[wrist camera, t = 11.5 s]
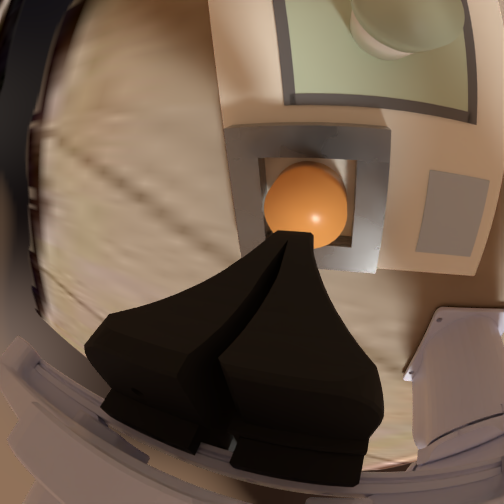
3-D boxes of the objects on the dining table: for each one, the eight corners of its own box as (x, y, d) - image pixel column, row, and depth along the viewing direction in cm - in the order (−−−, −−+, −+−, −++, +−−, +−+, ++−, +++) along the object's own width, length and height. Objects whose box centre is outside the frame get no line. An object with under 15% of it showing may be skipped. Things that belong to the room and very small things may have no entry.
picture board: (472, 272, 14) (474, 277, 14) (243, 253, 19) (240, 257, 18) (493, -5, 4) (497, -6, 4) (208, -23, 9) (204, -26, 9)
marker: (419, 66, 9) (470, 59, 4) (351, 59, 10) (360, 39, 5) (411, 6, 7) (452, -34, 2) (343, -2, 8) (342, -54, 3)
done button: (344, 232, 15) (344, 252, 13) (275, 227, 16) (267, 245, 15) (348, 162, 13) (349, 174, 11) (270, 160, 14) (260, 172, 12)
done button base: (374, 261, 16) (375, 273, 15) (248, 250, 18) (242, 261, 17) (387, 126, 11) (391, 129, 10) (231, 124, 14) (223, 128, 13)
